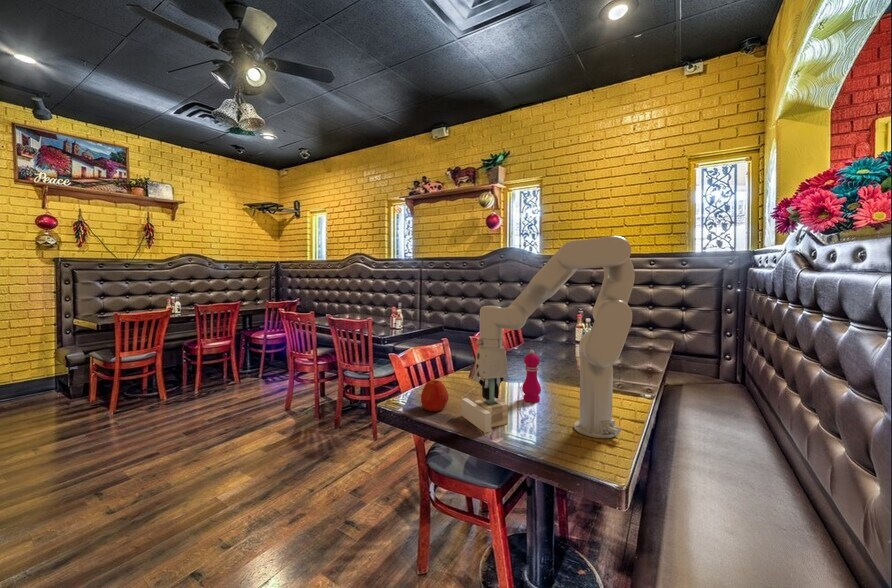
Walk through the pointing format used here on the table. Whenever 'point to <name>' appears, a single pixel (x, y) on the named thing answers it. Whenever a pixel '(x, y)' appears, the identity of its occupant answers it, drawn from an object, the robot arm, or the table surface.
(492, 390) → the dowel
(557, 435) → the table surface
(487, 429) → the wall
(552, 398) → the table surface
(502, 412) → the block
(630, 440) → the table surface
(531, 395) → the pepper mill
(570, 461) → the table surface
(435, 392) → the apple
